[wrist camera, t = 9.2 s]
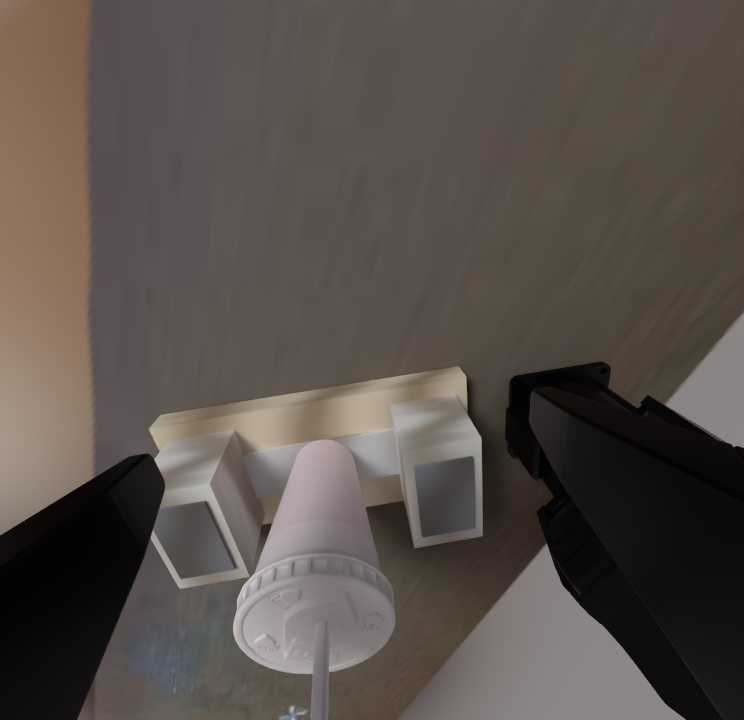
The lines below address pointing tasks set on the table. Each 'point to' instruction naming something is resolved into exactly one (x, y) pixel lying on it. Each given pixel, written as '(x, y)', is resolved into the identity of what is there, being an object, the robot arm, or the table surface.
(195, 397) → the table surface
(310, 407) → the board
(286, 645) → the smoothie
